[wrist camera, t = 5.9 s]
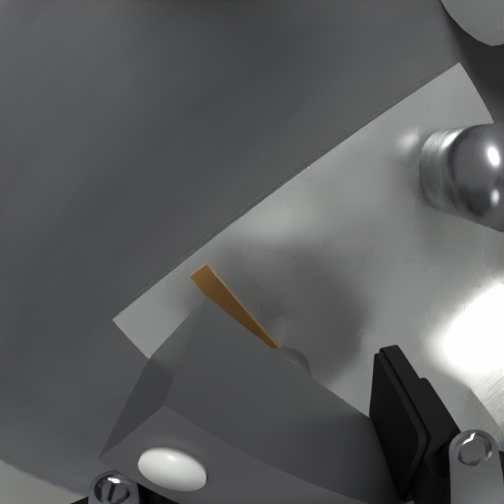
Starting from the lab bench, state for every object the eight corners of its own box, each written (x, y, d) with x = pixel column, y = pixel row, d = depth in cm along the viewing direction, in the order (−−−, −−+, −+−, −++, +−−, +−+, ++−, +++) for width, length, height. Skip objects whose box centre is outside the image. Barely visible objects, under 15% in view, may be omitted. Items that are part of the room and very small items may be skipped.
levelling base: (423, 78, 11) (593, 15, 1) (529, 374, 15) (595, 448, 6) (139, 290, 14) (10, 445, 4) (359, 491, 18) (380, 590, 9)
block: (374, 399, 11) (422, 521, 5) (326, 434, 11) (348, 555, 6) (216, 272, 10) (160, 413, 4) (167, 325, 10) (95, 465, 4)
